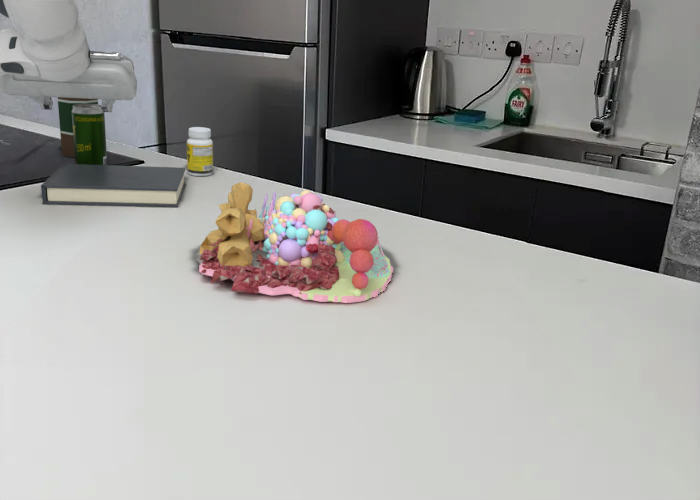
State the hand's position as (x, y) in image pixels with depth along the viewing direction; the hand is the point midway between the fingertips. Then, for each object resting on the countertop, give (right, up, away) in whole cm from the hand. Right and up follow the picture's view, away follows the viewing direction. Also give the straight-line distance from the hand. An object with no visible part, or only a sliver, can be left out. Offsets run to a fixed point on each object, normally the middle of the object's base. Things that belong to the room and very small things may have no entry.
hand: (78, 107), depth 112 cm
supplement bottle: (+17, -9, +16) cm, 25 cm away
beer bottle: (-9, -4, +24) cm, 26 cm away
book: (+7, -14, 0) cm, 16 cm away
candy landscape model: (+38, -26, -25) cm, 52 cm away
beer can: (-2, -10, +11) cm, 15 cm away
